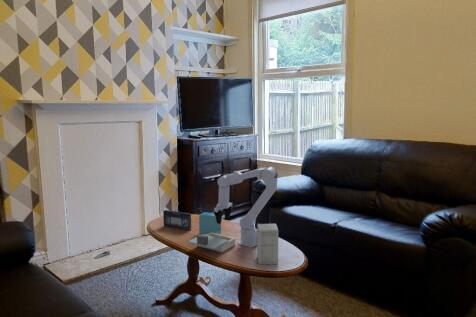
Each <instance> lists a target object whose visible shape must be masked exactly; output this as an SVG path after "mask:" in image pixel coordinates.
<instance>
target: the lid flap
mask: <svg viewBox="0 0 476 317" xmlns="http://www.w3.org/2000/svg"><path fill="white" fill-rule="evenodd" d="M227 242H228V240H224V239H220V238H216V237H212V236H208V235H204V234H200V233H199V234H198V235H196V237H193V238H191V239H190V240H188V241H187V243H188V244H192V245H195V246H197V245H198V246H202V247H205V248H209V249H213V250H214V249H216V248H218V247H220V246H222V245H224V244H225V243H227ZM198 246H197V247H198ZM202 247H201V248H202ZM205 248H204V249H205ZM209 249H208V250H209ZM213 250H212V251H213Z"/></svg>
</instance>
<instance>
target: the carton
mask: <svg viewBox="0 0 476 317" xmlns="http://www.w3.org/2000/svg"><path fill="white" fill-rule="evenodd" d="M206 235H208V236H212V237H216V238H220V239H224V240H228V242H227V243H225V244H224V245H222V246H220V247H218V248H216V249H214V250H213V249H209V248H205V247H202V246H198V245H196V246H197V247H198V248H202V249H206V250H209V251H213V252H217V253H221V254H223V253H225V252H226V251H228V250H230V249H232V248H234V247H235V246H236V237H233V236H228V235H223V234H215V233H209V234H206Z"/></svg>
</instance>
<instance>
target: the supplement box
mask: <svg viewBox="0 0 476 317" xmlns="http://www.w3.org/2000/svg"><path fill="white" fill-rule="evenodd" d="M256 229H257V245H256V247H257V250H256V252H257V254H256V255H257V256H256V257H257V262H258V265H275V264H276V265H278V264H279V229H278V225H277V223H257V228H256Z"/></svg>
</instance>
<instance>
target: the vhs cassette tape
mask: <svg viewBox="0 0 476 317" xmlns="http://www.w3.org/2000/svg"><path fill="white" fill-rule="evenodd" d="M162 212H163V213H162V216H163V218H162V219H163V227H165V228H170V229H171V228H172V229H176V230H182V231H188V232H189V231H191V230H192V213H190V212H189V213H188V212H184V211H183V212H182V211H175V210H169V209H168V210H167V209H165V210H163V211H162Z"/></svg>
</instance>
